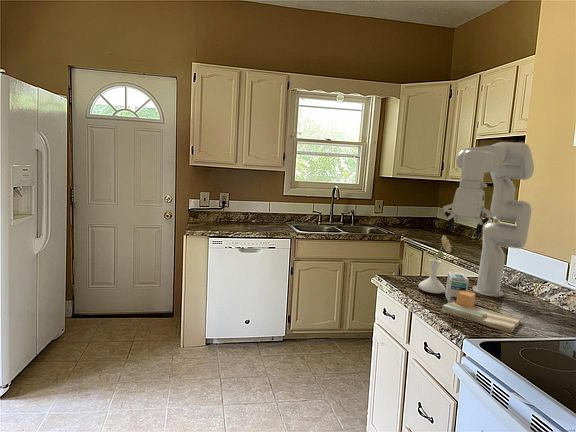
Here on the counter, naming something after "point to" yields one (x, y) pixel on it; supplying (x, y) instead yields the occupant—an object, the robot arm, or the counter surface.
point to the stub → (466, 299)
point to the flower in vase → (435, 272)
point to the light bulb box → (455, 285)
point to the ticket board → (482, 316)
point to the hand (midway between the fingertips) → (464, 232)
